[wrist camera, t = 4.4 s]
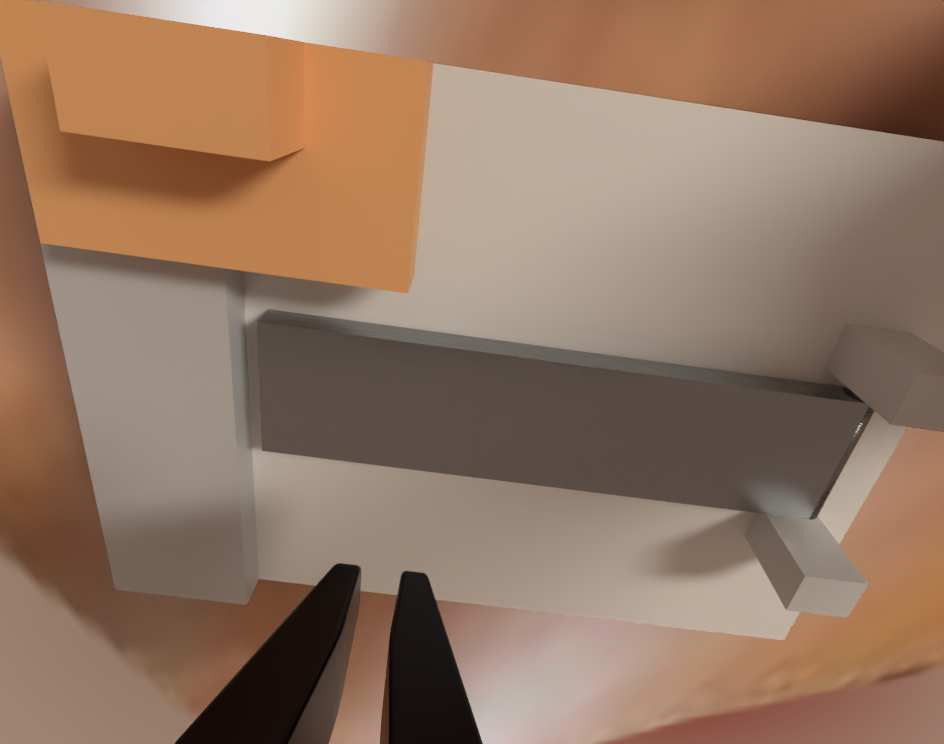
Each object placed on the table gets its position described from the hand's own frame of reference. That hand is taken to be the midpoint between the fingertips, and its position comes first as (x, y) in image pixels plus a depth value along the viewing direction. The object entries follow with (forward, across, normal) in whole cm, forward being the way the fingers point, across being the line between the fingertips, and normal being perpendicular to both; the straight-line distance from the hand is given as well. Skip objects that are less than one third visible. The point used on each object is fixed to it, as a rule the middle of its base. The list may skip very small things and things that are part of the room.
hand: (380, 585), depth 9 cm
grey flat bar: (+6, -4, 0) cm, 7 cm away
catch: (+5, +4, -6) cm, 8 cm away
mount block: (+9, -2, 0) cm, 9 cm away
